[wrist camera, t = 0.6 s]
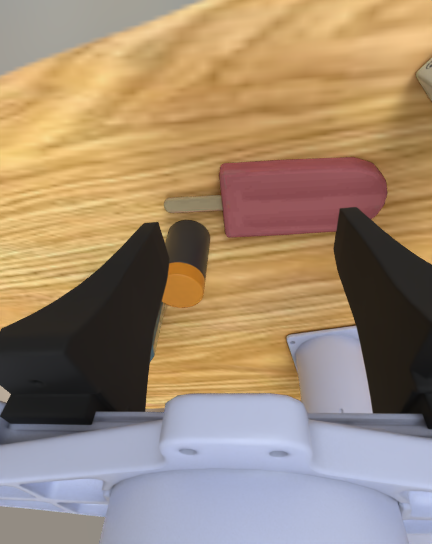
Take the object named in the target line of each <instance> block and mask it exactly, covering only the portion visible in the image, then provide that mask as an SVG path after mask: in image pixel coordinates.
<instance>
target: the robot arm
mask: <svg viewBox="0 0 432 544" xmlns="http://www.w3.org/2000/svg"><path fill="white" fill-rule="evenodd" d="M334 254H335V260H336V265H337V270H338V273H339V276H340V279H341V282H342V285H343V288H344V291H345V294H346V296H347V299H348V302H349V305H350V308H351V311H352V314H353V317H354V320H355V323H356V326H349V327H342V328H334V329H327V330H320V331H312V332H305V333H298V334H290V335H288V336H287V343H288V346H289V349H290V352H291V355H292V358H293V361H294V364H295V367H296V370H297V373H298V378H299V386H300V394H301V401H299V400H297V399H295V398H292V397H290V396H288V395H280V394H272V393H197V394H185V395H178V396H176V397H175V398H173V399H171V400H170V401H168V402H167V403H166V404H165V410H164V412H145V406H146V393H147V383H148V372H149V364H150V356H151V349H152V342H153V335H154V329H155V325H156V321H157V317H158V313H159V309H160V306H161V302H162V298H163V295H164V291H165V287H166V283H167V278H168V271H169V261H170V258H169V255H168V252H167V249H166V246H165V242H164V239H163V236H162V233H161V230H160V226H159V223H158V222H153V223H144V224H143V225H142V226H141V227H140V228H139V229H138V230H137V231H136V232H135V233H134V234H133V235H132V236H131V237H130V238H129V240H128V241H127V242H126V243H125V244H124V245H123V246H122V247H121V248H120V249H119V250H118V251H117V252H116V253H115V254H114V255H113V256H112V257H111V258H110V259H109V260H108V261H107V262H106V263H105V264H104V265H103V266H102V267H100V268H99V269H98V270H97V271H96V272H95V273H94V274H92V275H91V276H90V277H89V278H87V279H86V280H85V281H84V282H82V283H81V284H80V285H78V286H77V287H75V288H74V289H72V290H71V291H70V292H68V293H67V294H65V295H64V296H62V297H61V298H59V299H58V300H56V301H54V302H53V303H51V304H49V305H48V306H46V307H44V308H42V309H41V310H39V311H37V312H35V313H33V314H31V315H29V316H27V317H25V318H23V319H21V320H19V321H17V322H15V323H13V324H11V325H9V326H7V327H4V328H2V329H1V331H0V385H1V386H2V387H3V388H4V389H6V390H7V391H8V392H9V393H11V396H10V398H9V400H8V401H7V403H5V402H2V401H0V506H6V507H17V508H28V509H37V510H47V511H56V512H65V513H74V514H82V515H91V516H100V517H105V521H104V525H103V529H102V533H101V537H100V541H99V544H432V265H431V264H430V263H428V262H426V261H425V260H423V259H421V258H420V257H418V256H417V255H415V254H414V253H412V252H411V251H409V250H408V249H407V248H405V247H404V246H402V245H401V244H400V243H398V242H397V241H396V240H394V239H393V238H392V237H391V236H389V235H388V234H387V233H386V232H385V231H383V230H382V229H381V228H380V227H379V226H377V225H376V224H375V223H374V222H373V221H372V220H371V219H370V218H368V217H367V216H366V215H365V214H364V213H363V212H362V211H361V210H360V209H358V208H357V207H349V208H340V210H339V216H338V223H337V230H336V236H335V243H334Z"/></svg>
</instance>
